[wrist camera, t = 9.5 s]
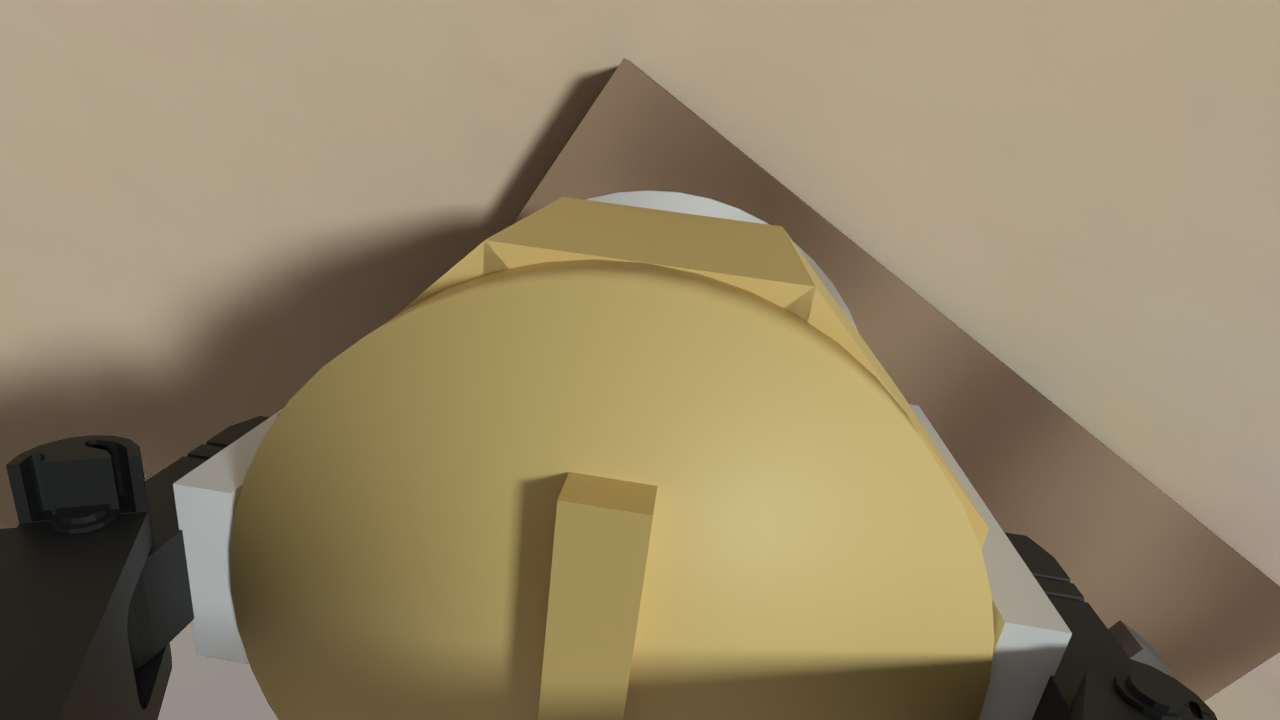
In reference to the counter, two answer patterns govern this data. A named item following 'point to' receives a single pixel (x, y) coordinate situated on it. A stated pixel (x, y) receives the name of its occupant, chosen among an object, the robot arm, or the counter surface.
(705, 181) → the post board
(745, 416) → the cap
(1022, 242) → the counter surface
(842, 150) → the counter surface
